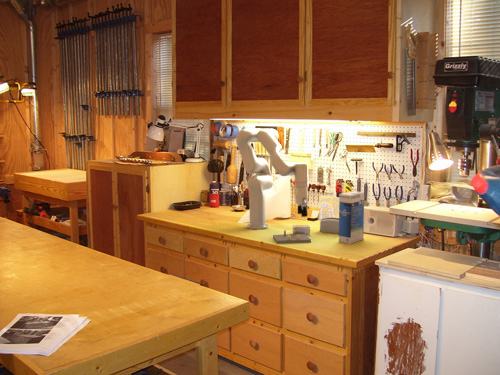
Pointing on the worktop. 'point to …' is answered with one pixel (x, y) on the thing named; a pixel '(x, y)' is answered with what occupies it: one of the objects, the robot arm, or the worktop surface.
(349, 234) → the string lights box
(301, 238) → the gray peg board
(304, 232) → the block
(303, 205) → the robot arm
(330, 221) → the grey rounded block
